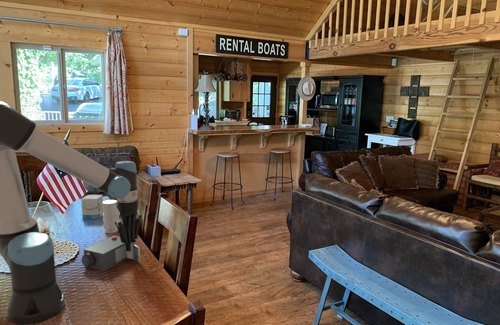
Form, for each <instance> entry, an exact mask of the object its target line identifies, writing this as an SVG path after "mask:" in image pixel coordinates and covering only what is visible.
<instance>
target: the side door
mask: <svg viewBox="0 0 500 325" xmlns="http://www.w3.org/2000/svg"><path fill="white" fill-rule="evenodd" d="M133 252H134V259H133V260H134V261H135V262H137V263H141V261H142V260H141V247H139V245H136V244H135V243H134V249H133Z"/></svg>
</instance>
